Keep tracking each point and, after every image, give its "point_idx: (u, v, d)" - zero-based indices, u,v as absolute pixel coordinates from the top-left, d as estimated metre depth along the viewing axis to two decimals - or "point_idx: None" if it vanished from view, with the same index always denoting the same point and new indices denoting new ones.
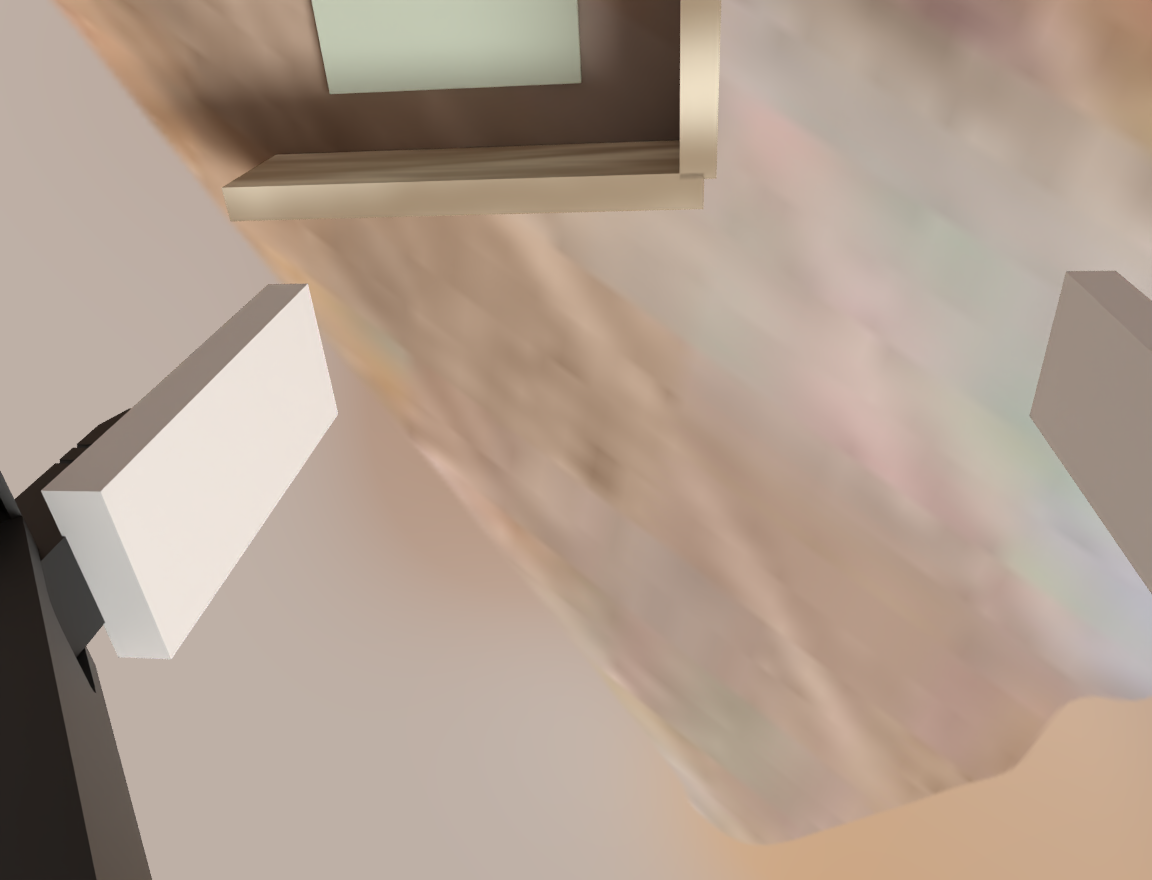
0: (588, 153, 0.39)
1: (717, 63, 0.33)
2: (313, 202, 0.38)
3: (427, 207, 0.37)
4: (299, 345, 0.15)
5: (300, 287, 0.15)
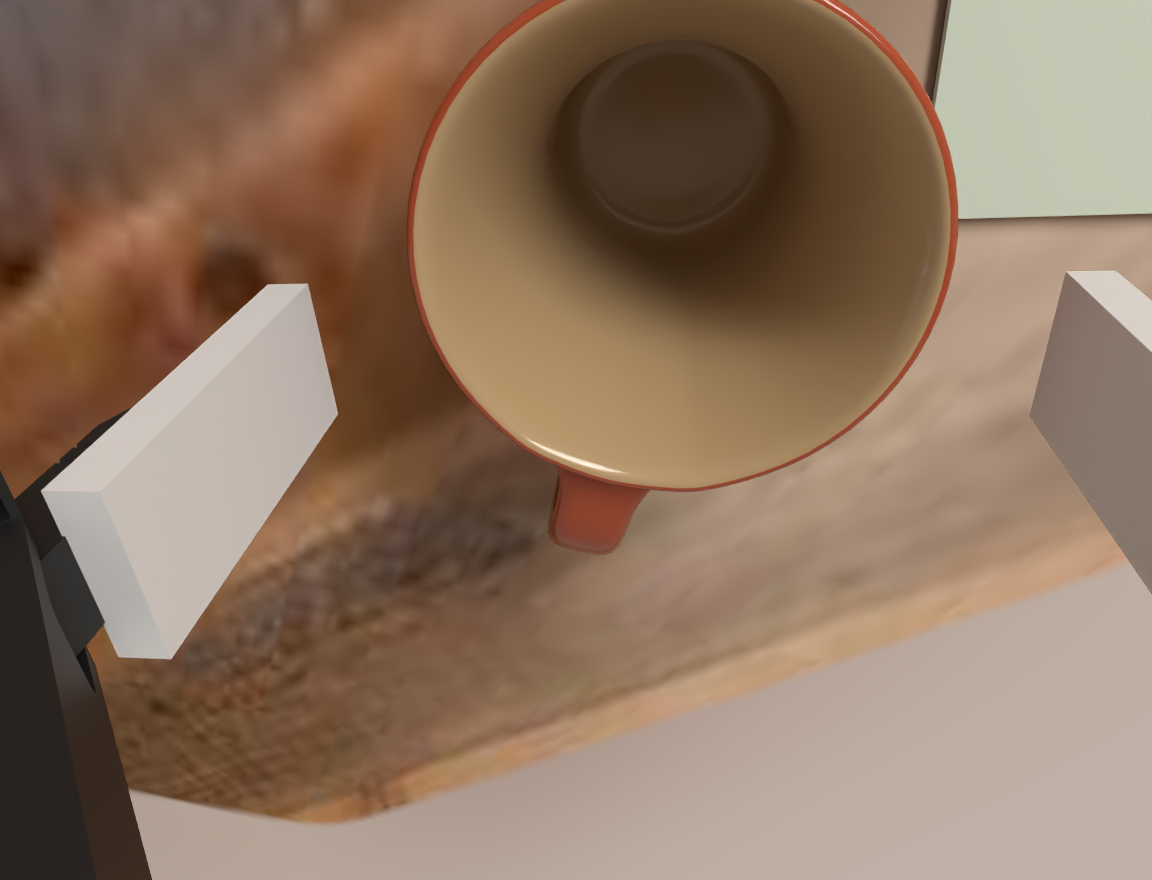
0: None
1: None
2: None
3: None
4: (299, 345, 0.15)
5: (300, 287, 0.15)
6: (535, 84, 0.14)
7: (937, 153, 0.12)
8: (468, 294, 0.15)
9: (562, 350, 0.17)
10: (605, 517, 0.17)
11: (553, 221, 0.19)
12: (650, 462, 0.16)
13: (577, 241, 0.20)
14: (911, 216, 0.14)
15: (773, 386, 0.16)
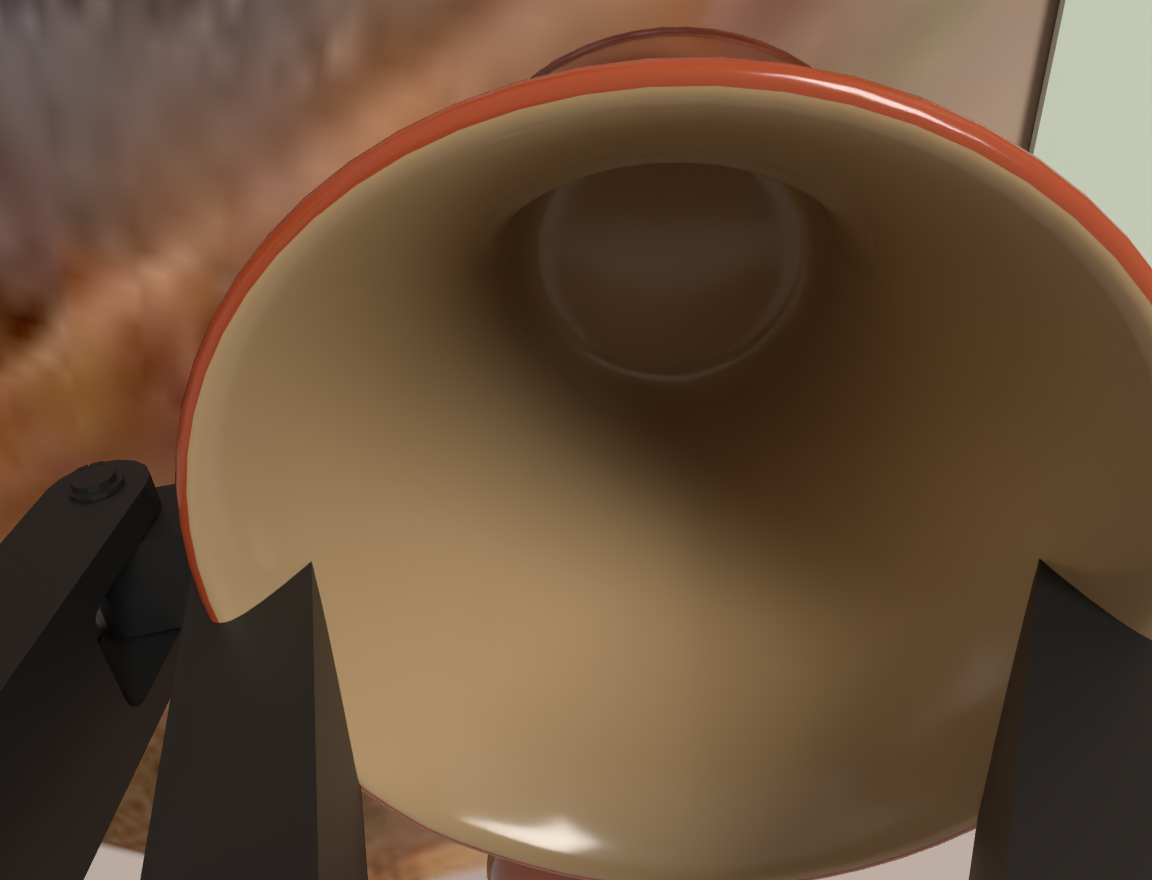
0: None
1: None
2: None
3: None
4: None
5: None
6: (413, 262, 0.08)
7: None
8: (323, 593, 0.09)
9: (496, 631, 0.11)
10: None
11: (493, 399, 0.13)
12: (634, 841, 0.10)
13: (533, 414, 0.14)
14: (1112, 507, 0.07)
15: (834, 710, 0.10)
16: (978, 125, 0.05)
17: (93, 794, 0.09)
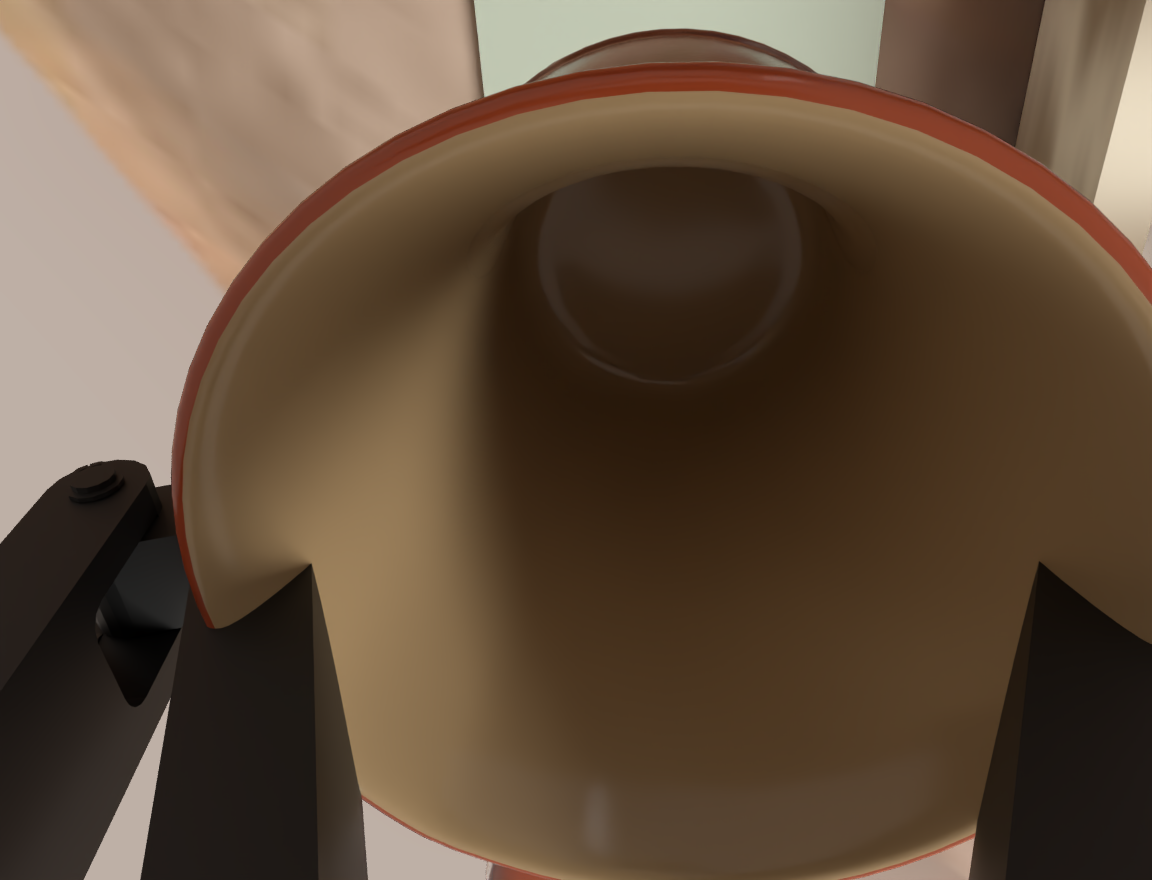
0: None
1: None
2: None
3: None
4: None
5: None
6: (410, 266, 0.08)
7: None
8: None
9: (495, 636, 0.11)
10: None
11: (492, 402, 0.13)
12: (633, 848, 0.10)
13: (533, 418, 0.14)
14: (1114, 514, 0.07)
15: (836, 715, 0.10)
16: (981, 130, 0.05)
17: (92, 794, 0.09)
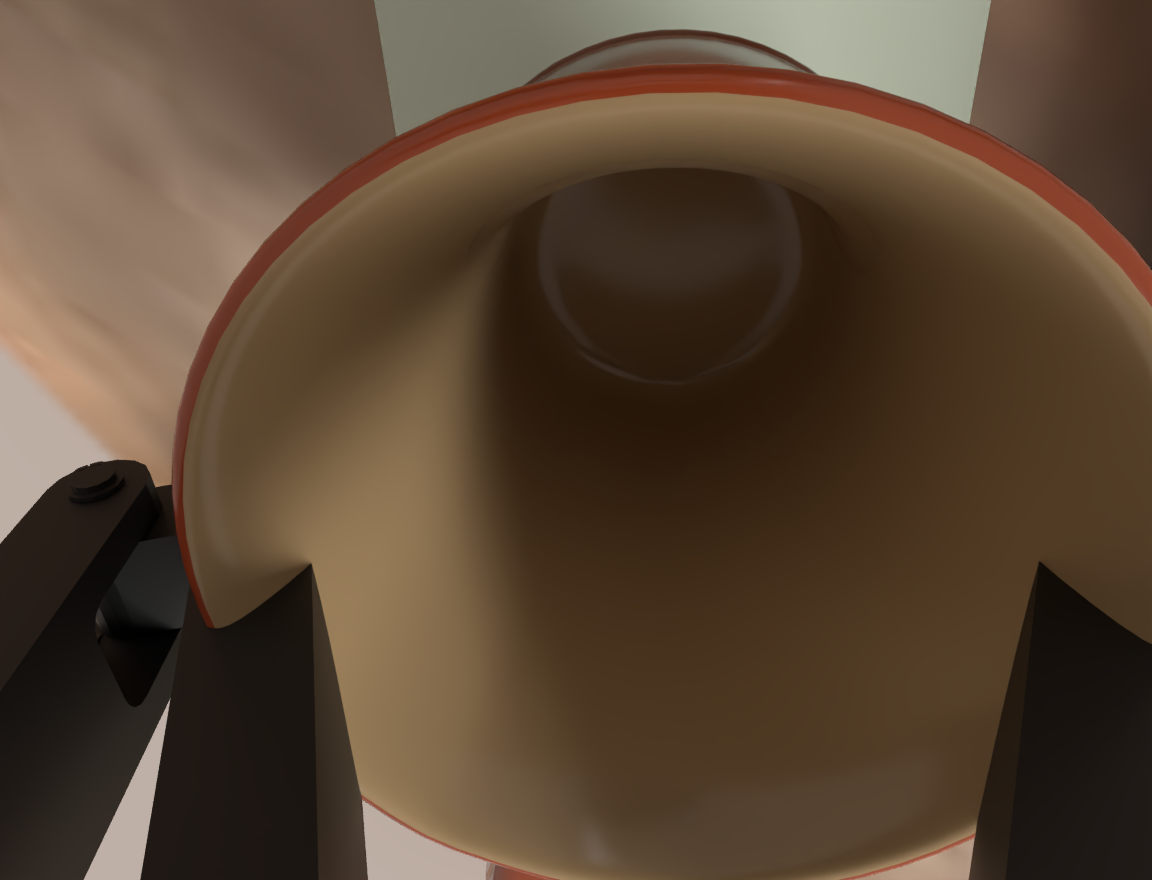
0: None
1: None
2: None
3: None
4: None
5: None
6: (410, 268, 0.08)
7: None
8: None
9: (495, 636, 0.11)
10: None
11: (492, 403, 0.13)
12: (633, 848, 0.10)
13: (532, 418, 0.14)
14: (1114, 515, 0.07)
15: (836, 716, 0.10)
16: (980, 132, 0.05)
17: (92, 794, 0.09)
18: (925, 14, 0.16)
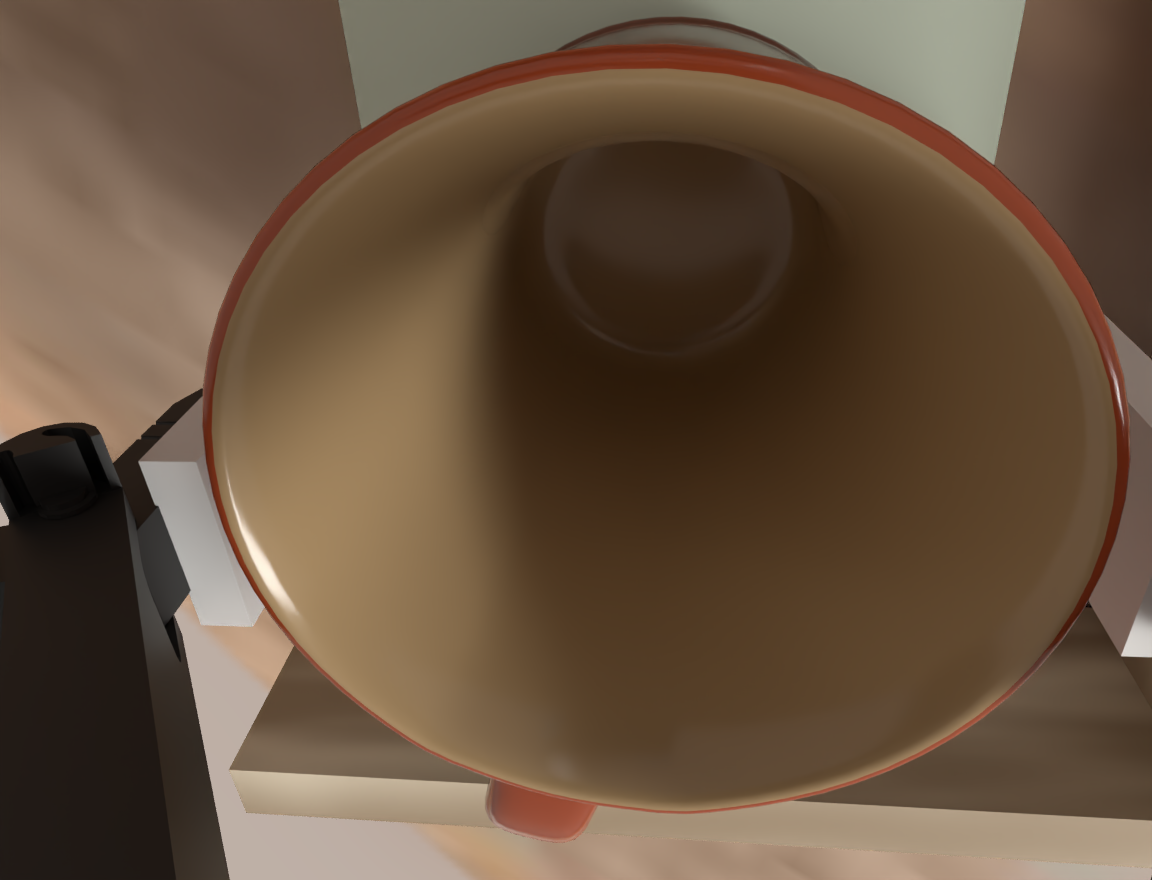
0: None
1: None
2: (414, 802, 0.19)
3: (649, 826, 0.18)
4: None
5: None
6: (414, 229, 0.09)
7: (1100, 376, 0.07)
8: (332, 531, 0.10)
9: (493, 576, 0.12)
10: (557, 813, 0.12)
11: (496, 366, 0.14)
12: (615, 767, 0.11)
13: (535, 383, 0.15)
14: (1040, 453, 0.08)
15: (802, 651, 0.11)
16: (895, 102, 0.06)
17: None
18: (949, 34, 0.15)
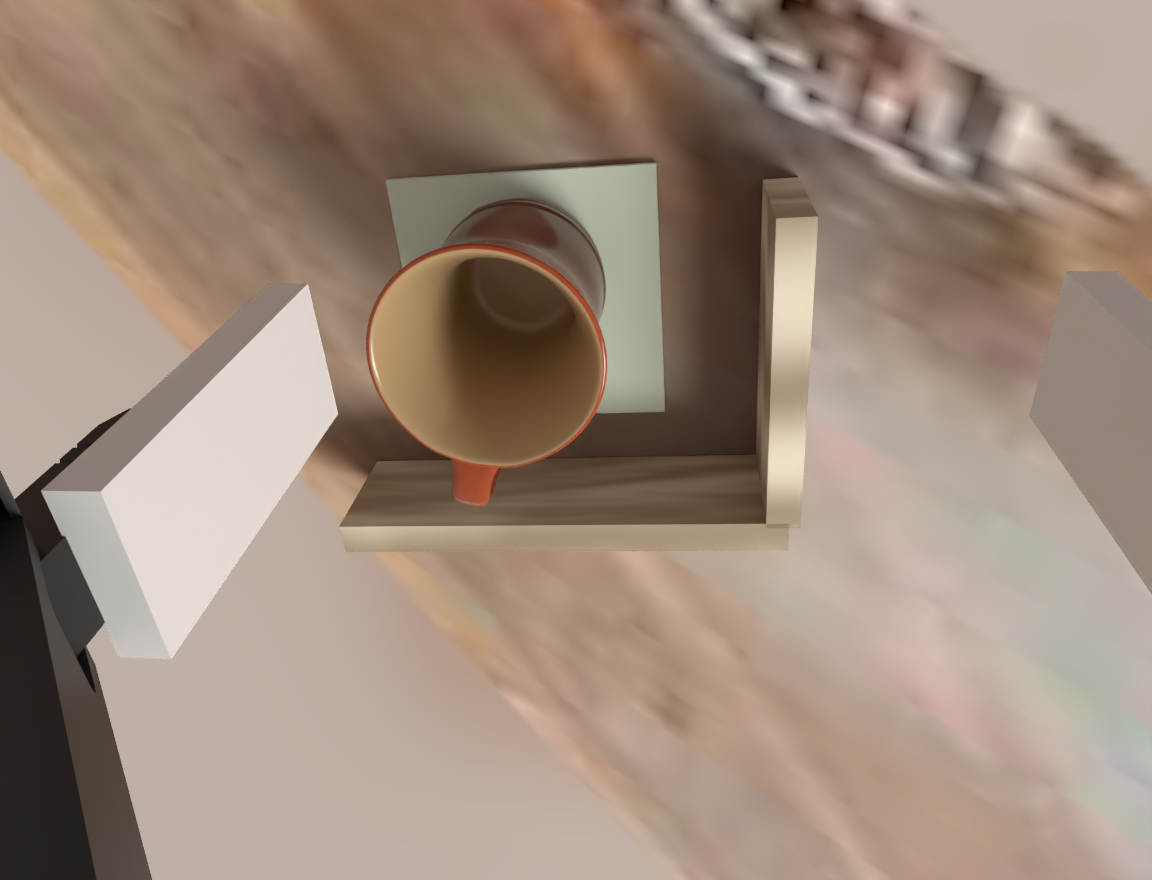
0: (673, 476, 0.42)
1: (803, 443, 0.36)
2: (424, 539, 0.41)
3: (530, 544, 0.40)
4: (299, 345, 0.15)
5: (300, 287, 0.15)
6: (422, 283, 0.31)
7: (586, 313, 0.29)
8: (399, 376, 0.32)
9: (451, 399, 0.34)
10: (476, 484, 0.34)
11: (453, 331, 0.36)
12: (491, 454, 0.33)
13: (470, 339, 0.37)
14: (588, 337, 0.30)
15: (551, 414, 0.33)
16: (525, 254, 0.29)
17: None
18: (630, 198, 0.37)
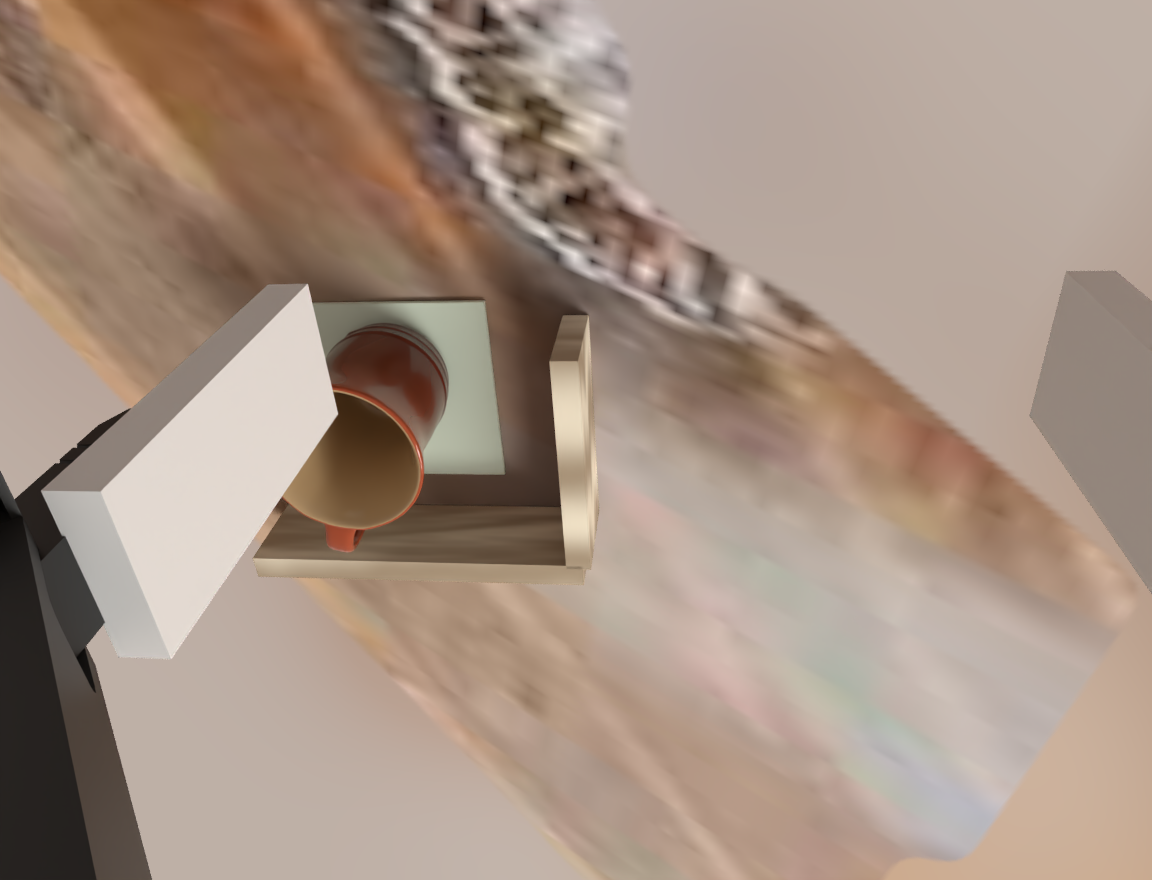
0: (509, 524, 0.56)
1: (586, 510, 0.50)
2: (316, 569, 0.54)
3: (395, 575, 0.54)
4: (299, 345, 0.15)
5: (300, 287, 0.15)
6: None
7: (405, 432, 0.42)
8: None
9: (324, 478, 0.47)
10: (341, 538, 0.47)
11: None
12: (349, 519, 0.46)
13: (345, 427, 0.50)
14: (411, 445, 0.44)
15: (393, 492, 0.46)
16: (361, 394, 0.42)
17: None
18: (467, 324, 0.50)
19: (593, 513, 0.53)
